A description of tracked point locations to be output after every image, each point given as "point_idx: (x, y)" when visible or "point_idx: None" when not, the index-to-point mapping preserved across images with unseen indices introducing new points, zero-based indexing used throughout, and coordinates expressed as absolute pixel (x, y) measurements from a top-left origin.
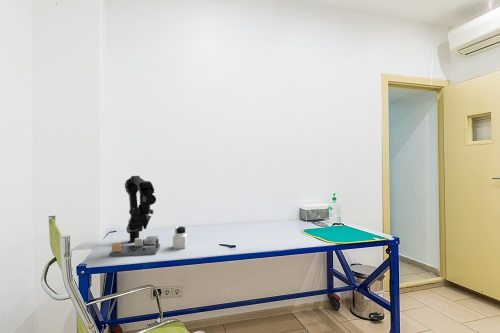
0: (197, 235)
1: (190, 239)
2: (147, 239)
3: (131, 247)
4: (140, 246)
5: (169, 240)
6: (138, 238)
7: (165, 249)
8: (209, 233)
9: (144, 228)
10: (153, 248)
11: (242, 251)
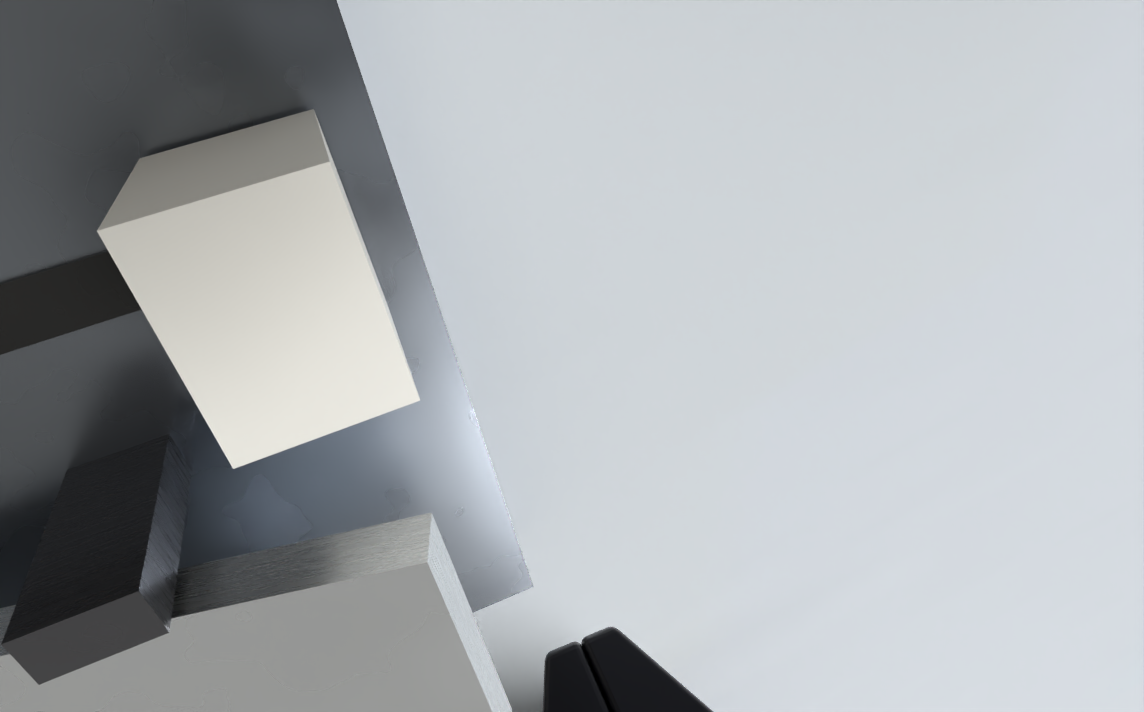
0: (1078, 642)
1: (911, 676)
2: (242, 641)
3: (35, 80)
4: None
5: (924, 445)
6: (296, 296)
7: None
8: (1117, 704)
9: (554, 691)
10: None
11: None
